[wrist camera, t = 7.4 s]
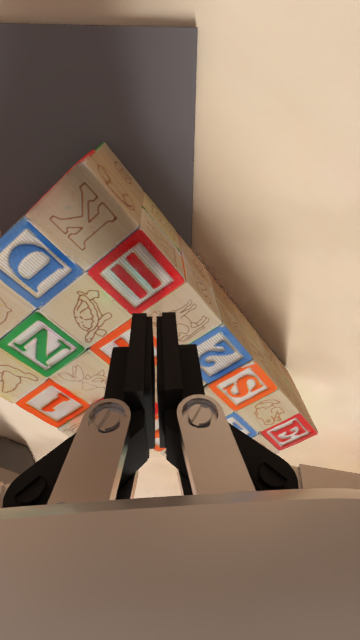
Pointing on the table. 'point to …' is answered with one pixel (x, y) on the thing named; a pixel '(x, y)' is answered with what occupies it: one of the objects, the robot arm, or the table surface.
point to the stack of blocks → (124, 308)
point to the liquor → (13, 460)
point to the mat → (97, 110)
